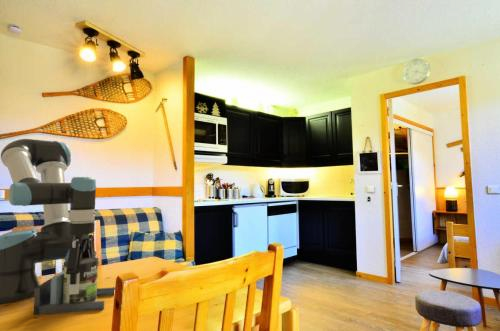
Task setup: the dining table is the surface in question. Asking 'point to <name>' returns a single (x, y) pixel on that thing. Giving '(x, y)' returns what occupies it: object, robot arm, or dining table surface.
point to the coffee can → (82, 282)
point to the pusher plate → (57, 289)
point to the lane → (43, 303)
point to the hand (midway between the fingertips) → (80, 288)
